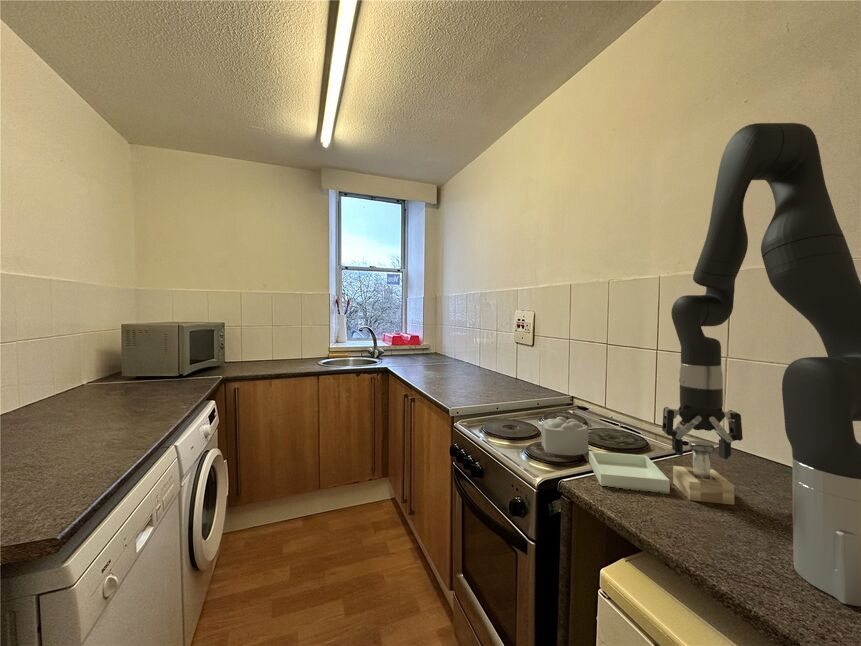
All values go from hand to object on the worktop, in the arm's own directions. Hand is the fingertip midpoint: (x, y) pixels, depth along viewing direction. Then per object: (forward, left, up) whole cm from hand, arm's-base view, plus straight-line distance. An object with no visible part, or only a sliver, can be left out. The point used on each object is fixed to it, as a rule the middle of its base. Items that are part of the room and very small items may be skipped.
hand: (700, 456), depth 75 cm
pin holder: (0, 0, -8) cm, 8 cm away
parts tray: (+5, +14, -8) cm, 17 cm away
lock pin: (0, 0, -8) cm, 8 cm away
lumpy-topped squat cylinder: (+21, +26, -9) cm, 34 cm away
